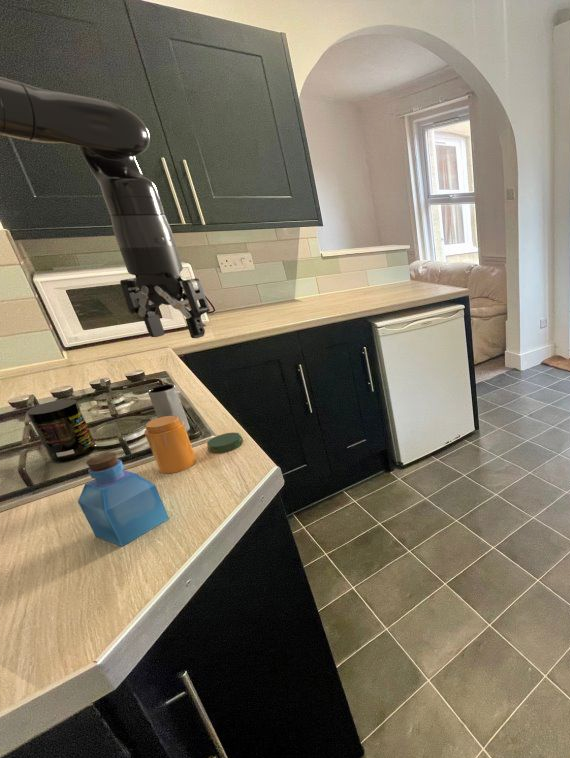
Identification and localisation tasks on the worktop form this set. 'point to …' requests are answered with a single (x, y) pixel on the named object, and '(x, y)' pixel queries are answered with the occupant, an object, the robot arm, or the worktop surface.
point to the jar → (170, 444)
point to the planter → (167, 402)
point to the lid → (224, 442)
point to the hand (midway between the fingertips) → (178, 336)
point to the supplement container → (62, 430)
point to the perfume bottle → (119, 501)
